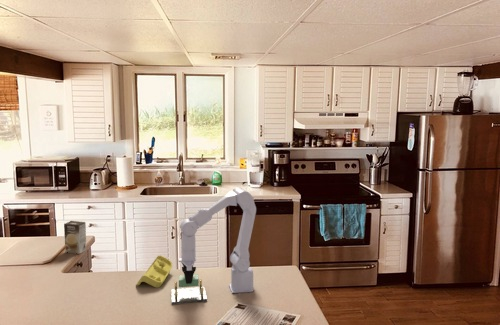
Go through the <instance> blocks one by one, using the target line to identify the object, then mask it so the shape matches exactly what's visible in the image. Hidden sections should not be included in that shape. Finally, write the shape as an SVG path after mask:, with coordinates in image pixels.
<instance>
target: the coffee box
mask: <svg viewBox="0 0 500 325" xmlns="http://www.w3.org/2000/svg"><path fill="white" fill-rule="evenodd" d="M63 225H64V227H63V228H64V251H65V253H67V252H68V254H76V253H77V255H78V254H79V255H80V254H82V253H84V252H85V251H87V233H86V222H85V221H77V220H70V221H68V222H66V223H64V224H63Z"/></svg>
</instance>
